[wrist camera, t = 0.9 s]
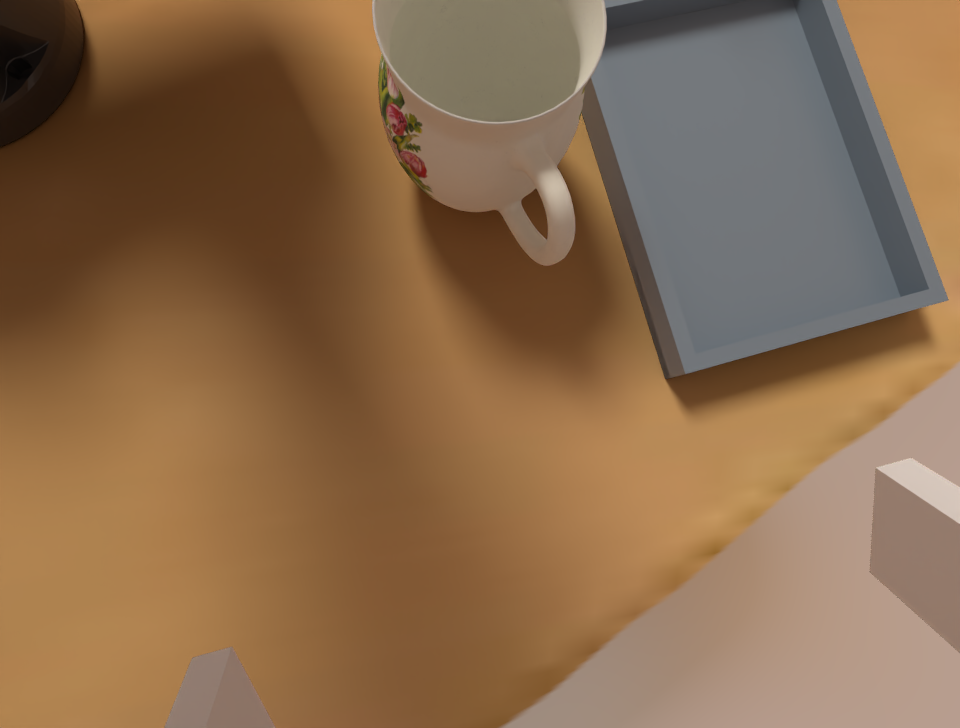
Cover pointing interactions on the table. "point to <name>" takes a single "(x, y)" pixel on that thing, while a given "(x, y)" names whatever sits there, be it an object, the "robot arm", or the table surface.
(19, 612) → the table surface
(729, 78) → the tray
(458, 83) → the pitcher
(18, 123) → the robot arm
